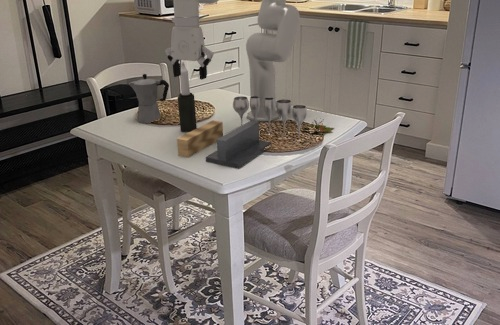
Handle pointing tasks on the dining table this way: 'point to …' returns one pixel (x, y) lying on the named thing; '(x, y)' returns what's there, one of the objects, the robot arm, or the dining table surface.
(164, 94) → the coffeepot
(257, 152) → the steel ridge
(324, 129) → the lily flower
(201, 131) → the oak beam
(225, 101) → the dining table surface
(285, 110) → the goblet set
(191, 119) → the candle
